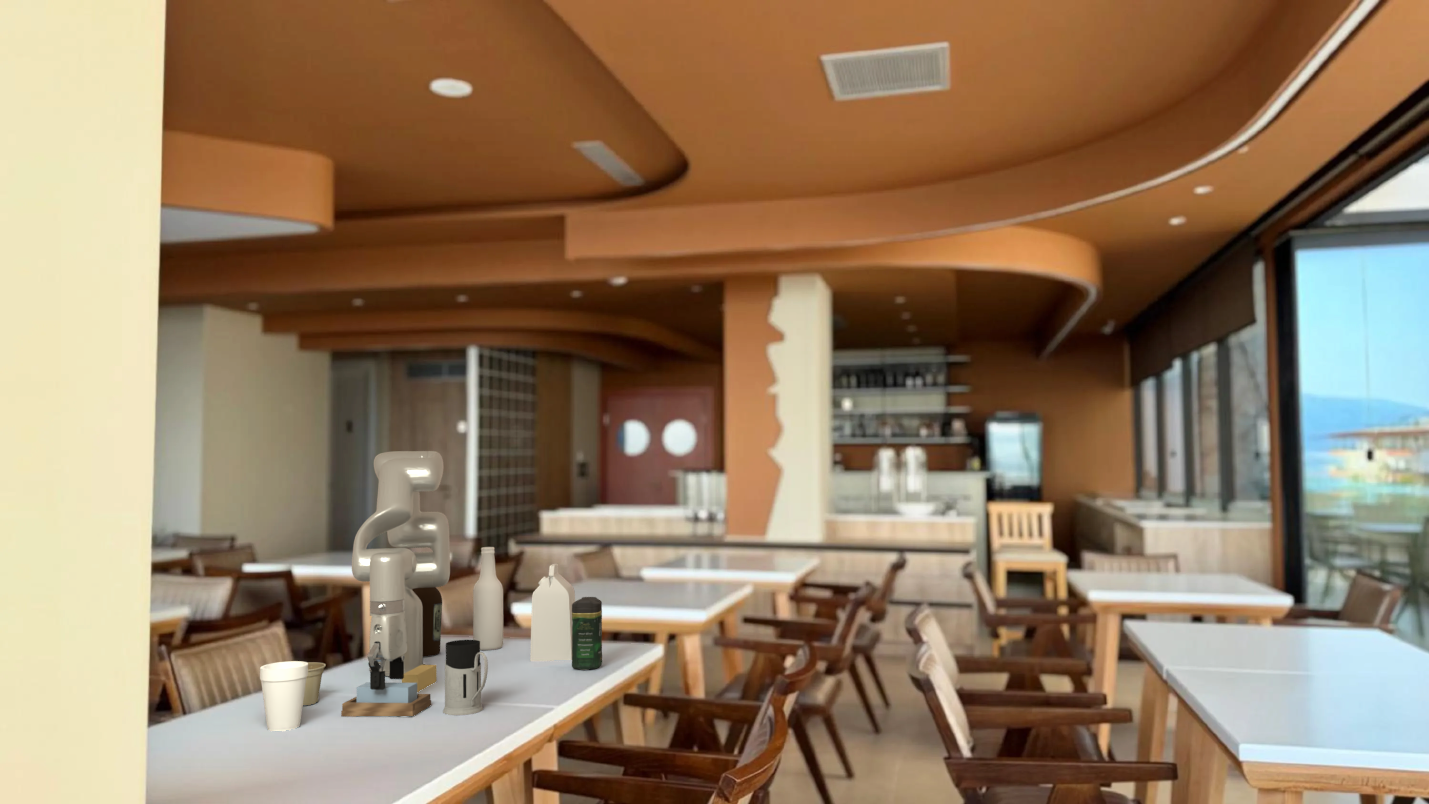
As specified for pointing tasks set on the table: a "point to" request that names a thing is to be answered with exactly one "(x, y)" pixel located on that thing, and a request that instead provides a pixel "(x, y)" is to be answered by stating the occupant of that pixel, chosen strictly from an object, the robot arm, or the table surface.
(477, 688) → the glass holder
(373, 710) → the cradle
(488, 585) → the alcohol
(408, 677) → the mustard wooden brick
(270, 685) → the foam cup
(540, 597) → the milk
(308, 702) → the flower pot
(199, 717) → the table surface
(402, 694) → the pale grey-blue block
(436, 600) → the olive oil
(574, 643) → the coffee jar
